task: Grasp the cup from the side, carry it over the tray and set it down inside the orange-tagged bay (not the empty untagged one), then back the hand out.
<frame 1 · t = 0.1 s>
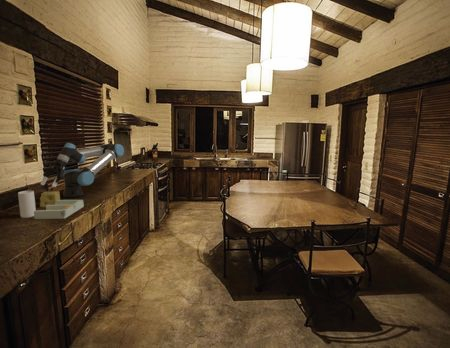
hand: (47, 185, 192), 15 cm above the countertop, tool tilted 35°, fingers open, 13 cm apart
cheese: (51, 205, 195), on the countertop
tray: (61, 212, 178), on the countertop
cup: (28, 215, 170), on the countertop
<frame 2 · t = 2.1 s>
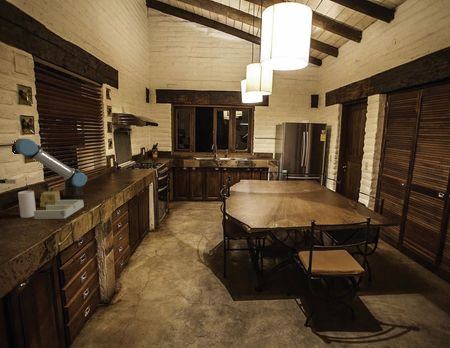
hand: (8, 183, 166), 22 cm above the countertop, tool horizontal, fingers open, 13 cm apart
nothing on the countertop moved.
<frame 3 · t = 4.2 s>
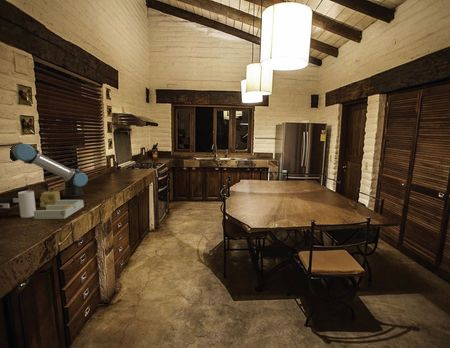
hand: (16, 202, 167), 9 cm above the countertop, tool horizontal, fingers open, 13 cm apart
nothing on the countertop moved.
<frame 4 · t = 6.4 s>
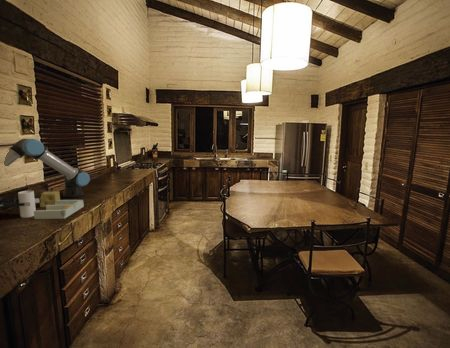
hand: (34, 202, 169), 9 cm above the countertop, tool horizontal, fingers closed on cup, 8 cm apart
cup: (28, 215, 170), on the countertop, touching gripper
everything else where it was.
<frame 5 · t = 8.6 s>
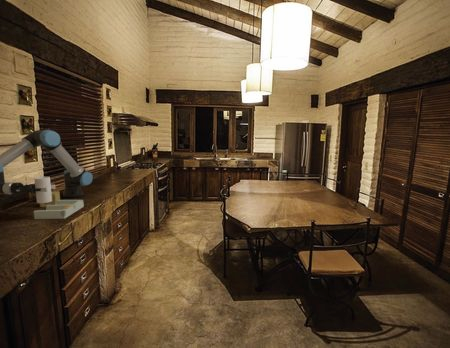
hand: (50, 188, 167), 19 cm above the countertop, tool horizontal, fingers closed on cup, 8 cm apart
cup: (44, 201, 168), point 9 cm above the countertop, touching gripper
everything else where it was.
when the fingers open (12 cm above the countertop, at t = 10.7 s): cup drops 2 cm, resting on tray.
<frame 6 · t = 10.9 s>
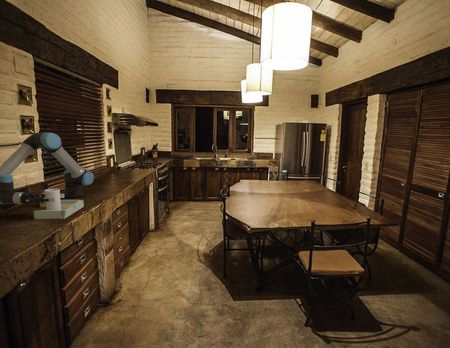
hand: (59, 197, 170), 12 cm above the countertop, tool horizontal, fingers open, 10 cm apart
cup: (54, 213, 171), point 1 cm above the countertop, touching tray
everything else where it was.
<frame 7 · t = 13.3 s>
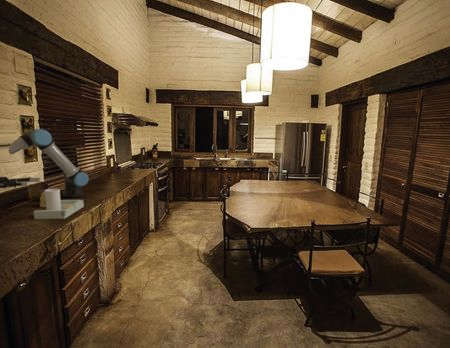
hand: (34, 181, 172), 22 cm above the countertop, tool horizontal, fingers open, 13 cm apart
nothing on the countertop moved.
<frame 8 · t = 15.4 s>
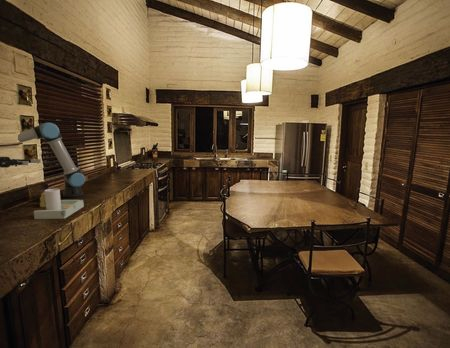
hand: (34, 162, 178), 34 cm above the countertop, tool horizontal, fingers open, 13 cm apart
nothing on the countertop moved.
at the end: cup inside the target area (0.0 cm from its centre), point 1.1 cm above the countertop; cup tilted 0°; the gripper is holding nothing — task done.
